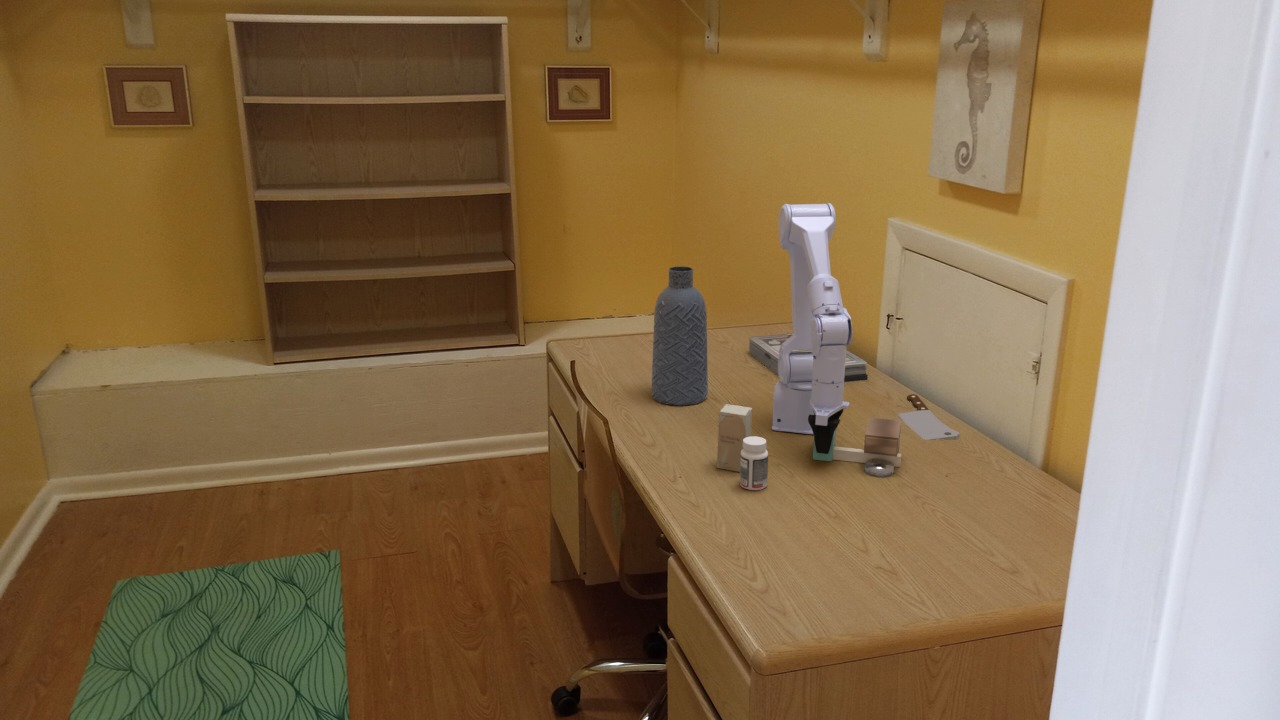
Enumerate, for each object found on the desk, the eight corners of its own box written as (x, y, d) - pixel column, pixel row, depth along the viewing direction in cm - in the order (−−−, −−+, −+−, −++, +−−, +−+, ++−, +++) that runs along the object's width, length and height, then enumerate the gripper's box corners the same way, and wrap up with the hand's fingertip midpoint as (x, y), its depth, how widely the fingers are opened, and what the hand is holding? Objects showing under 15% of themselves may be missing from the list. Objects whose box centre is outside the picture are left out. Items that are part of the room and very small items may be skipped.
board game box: (792, 389, 223) (793, 370, 221) (747, 354, 247) (748, 337, 246) (867, 381, 227) (868, 363, 226) (815, 348, 252) (816, 331, 251)
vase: (695, 385, 224) (697, 261, 215) (716, 403, 213) (719, 272, 204) (643, 391, 220) (643, 265, 212) (662, 409, 209) (663, 277, 201)
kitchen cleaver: (879, 396, 216) (925, 393, 216) (879, 400, 216) (925, 397, 216) (911, 440, 192) (962, 436, 192) (910, 444, 193) (962, 441, 193)
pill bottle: (769, 481, 175) (771, 437, 172) (763, 492, 170) (765, 447, 168) (743, 478, 176) (744, 433, 174) (736, 488, 172) (738, 443, 169)
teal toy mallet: (812, 459, 184) (814, 428, 182) (815, 452, 187) (817, 422, 185) (899, 469, 180) (902, 438, 178) (900, 461, 183) (903, 431, 181)
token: (863, 476, 177) (863, 468, 177) (865, 465, 182) (866, 457, 181) (892, 479, 176) (892, 471, 175) (894, 468, 180) (894, 460, 180)
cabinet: (862, 471, 179) (865, 434, 177) (866, 452, 187) (869, 417, 185) (895, 475, 177) (898, 438, 175) (898, 456, 185) (901, 420, 183)
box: (716, 468, 180) (717, 410, 177) (723, 459, 184) (724, 403, 180) (744, 472, 178) (746, 414, 175) (750, 463, 182) (752, 406, 179)
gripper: (846, 393, 173) (841, 466, 177) (854, 368, 186) (850, 436, 190) (805, 389, 175) (801, 461, 179) (816, 365, 188) (812, 432, 192)
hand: (824, 448), depth 185 cm, fingers closed on teal toy mallet, 3 cm apart
